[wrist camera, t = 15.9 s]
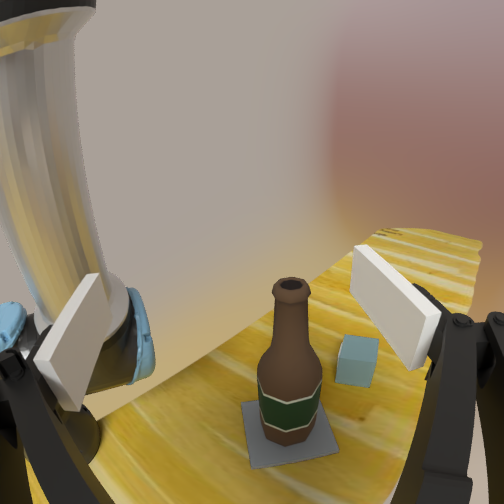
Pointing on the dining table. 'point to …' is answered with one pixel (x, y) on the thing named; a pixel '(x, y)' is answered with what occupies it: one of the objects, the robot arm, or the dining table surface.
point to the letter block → (357, 360)
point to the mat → (275, 454)
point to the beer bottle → (289, 369)
